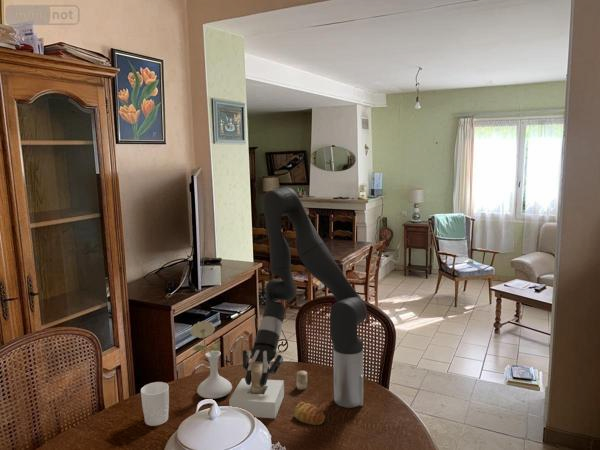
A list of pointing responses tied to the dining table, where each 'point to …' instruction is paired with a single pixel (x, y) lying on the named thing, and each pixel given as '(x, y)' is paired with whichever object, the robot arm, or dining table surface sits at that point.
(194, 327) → the flower in vase
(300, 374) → the short birch pin
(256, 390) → the tall birch pin
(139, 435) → the dining table surface
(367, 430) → the dining table surface
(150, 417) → the white cup
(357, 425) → the dining table surface
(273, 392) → the guide block
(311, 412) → the pastry
